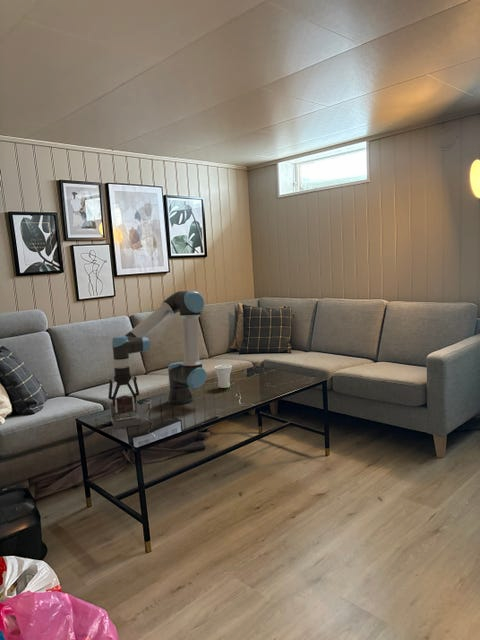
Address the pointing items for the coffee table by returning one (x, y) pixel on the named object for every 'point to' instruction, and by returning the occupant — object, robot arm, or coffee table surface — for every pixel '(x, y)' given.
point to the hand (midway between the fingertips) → (125, 410)
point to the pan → (125, 416)
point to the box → (124, 404)
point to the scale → (123, 422)
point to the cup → (223, 375)
